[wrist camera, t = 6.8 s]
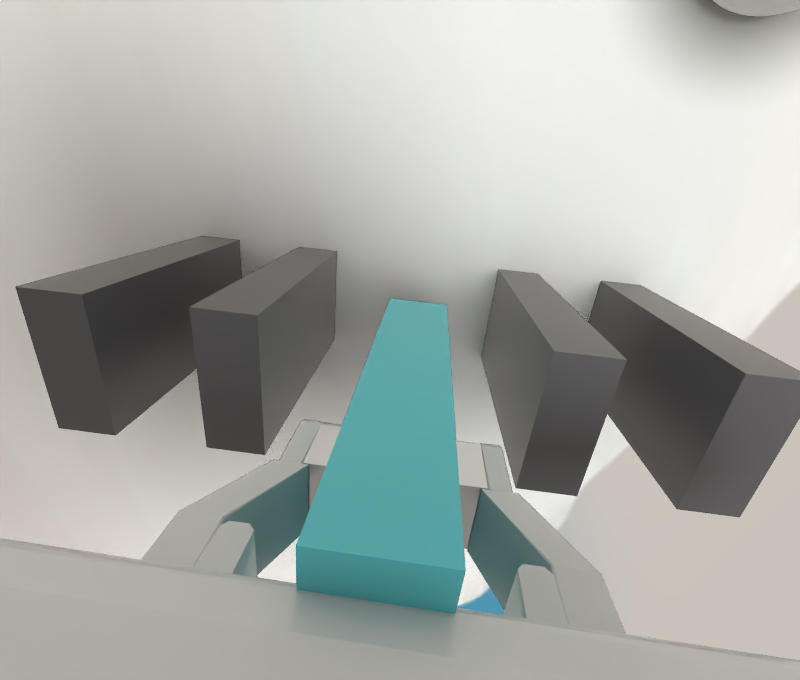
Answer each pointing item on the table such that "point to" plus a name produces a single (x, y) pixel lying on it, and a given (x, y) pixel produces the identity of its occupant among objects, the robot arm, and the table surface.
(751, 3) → the cup
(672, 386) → the domino
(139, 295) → the domino
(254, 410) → the domino
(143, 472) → the table surface
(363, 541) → the domino teal
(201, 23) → the table surface
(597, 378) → the domino
